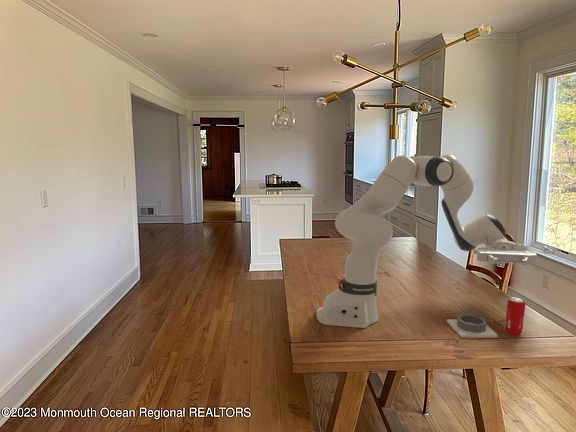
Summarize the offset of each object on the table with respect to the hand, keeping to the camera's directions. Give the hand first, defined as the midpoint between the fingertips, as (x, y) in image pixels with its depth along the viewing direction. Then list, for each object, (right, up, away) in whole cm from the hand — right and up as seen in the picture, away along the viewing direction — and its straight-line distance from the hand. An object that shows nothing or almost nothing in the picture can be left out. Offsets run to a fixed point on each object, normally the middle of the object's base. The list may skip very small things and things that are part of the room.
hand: (510, 262), depth 150 cm
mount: (-16, -23, -5) cm, 28 cm away
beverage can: (-3, -23, -8) cm, 25 cm away
